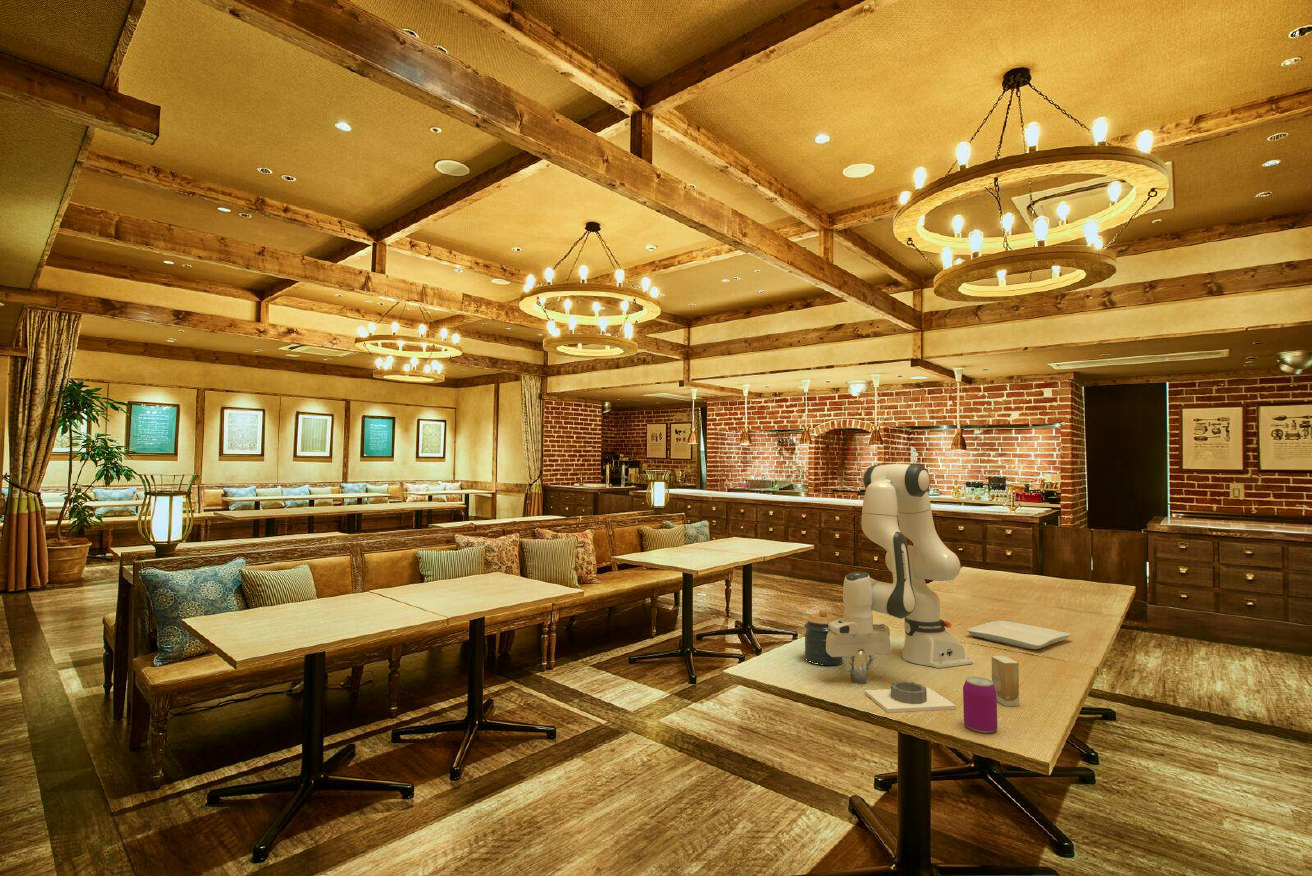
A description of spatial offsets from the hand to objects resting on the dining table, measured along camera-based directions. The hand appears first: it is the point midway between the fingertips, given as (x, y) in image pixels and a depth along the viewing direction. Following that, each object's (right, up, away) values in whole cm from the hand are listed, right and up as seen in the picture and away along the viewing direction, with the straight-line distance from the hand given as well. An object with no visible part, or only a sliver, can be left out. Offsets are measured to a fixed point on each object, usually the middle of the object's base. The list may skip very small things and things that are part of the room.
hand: (858, 669), depth 190 cm
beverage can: (+20, -2, -34) cm, 40 cm away
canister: (-5, -5, +20) cm, 22 cm away
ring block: (+9, -3, -16) cm, 19 cm away
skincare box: (+36, -3, -17) cm, 40 cm away
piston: (0, -4, 0) cm, 4 cm away
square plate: (+77, -6, +46) cm, 90 cm away
